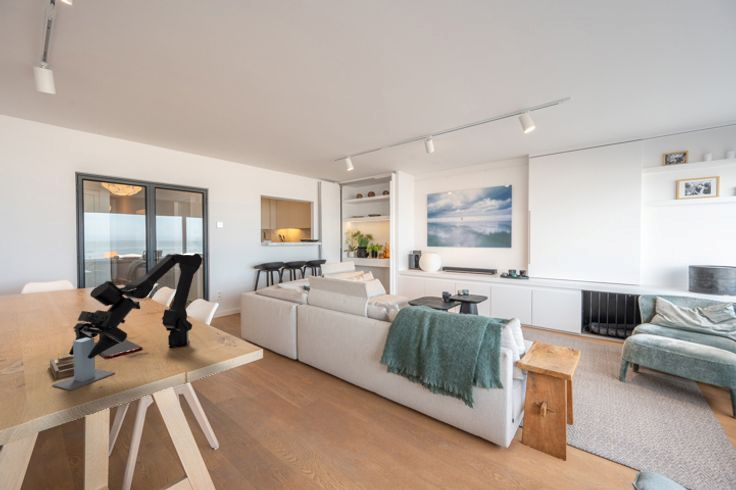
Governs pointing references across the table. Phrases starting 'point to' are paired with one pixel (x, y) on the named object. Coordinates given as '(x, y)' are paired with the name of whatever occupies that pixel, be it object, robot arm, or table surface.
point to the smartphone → (120, 349)
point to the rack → (61, 369)
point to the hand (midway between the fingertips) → (79, 356)
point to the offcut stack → (64, 359)
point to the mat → (73, 384)
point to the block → (83, 359)
